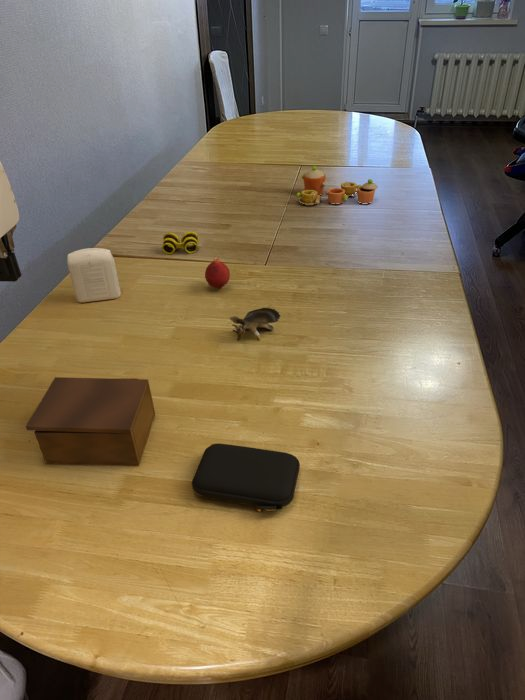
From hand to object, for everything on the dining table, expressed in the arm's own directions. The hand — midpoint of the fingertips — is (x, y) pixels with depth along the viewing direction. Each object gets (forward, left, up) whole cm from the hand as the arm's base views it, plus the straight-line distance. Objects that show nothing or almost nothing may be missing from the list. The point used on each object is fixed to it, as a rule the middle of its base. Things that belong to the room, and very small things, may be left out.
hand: (9, 278), depth 78 cm
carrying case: (+36, -18, -25) cm, 47 cm away
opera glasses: (+12, +63, -25) cm, 69 cm away
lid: (+11, -9, -18) cm, 23 cm away
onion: (+25, +41, -25) cm, 54 cm away
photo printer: (-3, +37, -25) cm, 45 cm away
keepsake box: (+12, -9, -25) cm, 29 cm away
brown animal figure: (+35, +21, -25) cm, 48 cm away
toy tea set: (+57, +103, -25) cm, 120 cm away
